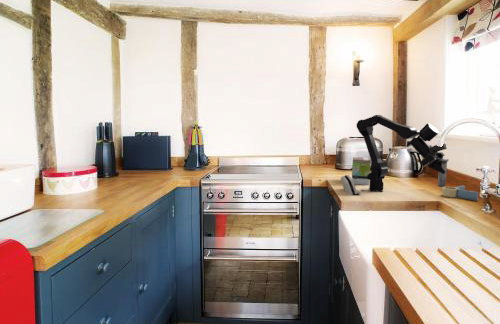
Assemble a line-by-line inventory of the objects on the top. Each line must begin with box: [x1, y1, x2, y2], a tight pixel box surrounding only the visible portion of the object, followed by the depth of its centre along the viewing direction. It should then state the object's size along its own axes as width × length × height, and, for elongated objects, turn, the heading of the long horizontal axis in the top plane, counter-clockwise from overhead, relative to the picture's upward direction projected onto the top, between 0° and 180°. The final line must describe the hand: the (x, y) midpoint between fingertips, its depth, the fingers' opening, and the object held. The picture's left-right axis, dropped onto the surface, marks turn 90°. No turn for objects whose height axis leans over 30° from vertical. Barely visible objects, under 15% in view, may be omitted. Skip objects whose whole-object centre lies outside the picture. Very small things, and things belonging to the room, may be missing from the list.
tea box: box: [351, 156, 371, 186], centre depth 223 cm, size 15×10×15 cm, turn 165°
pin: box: [437, 157, 449, 188], centre depth 174 cm, size 4×4×13 cm
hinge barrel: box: [441, 184, 479, 202], centre depth 186 cm, size 13×19×4 cm
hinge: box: [340, 174, 361, 196], centre depth 195 cm, size 17×5×10 cm, turn 177°
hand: (445, 172), depth 173 cm, fingers closed on pin, 3 cm apart
